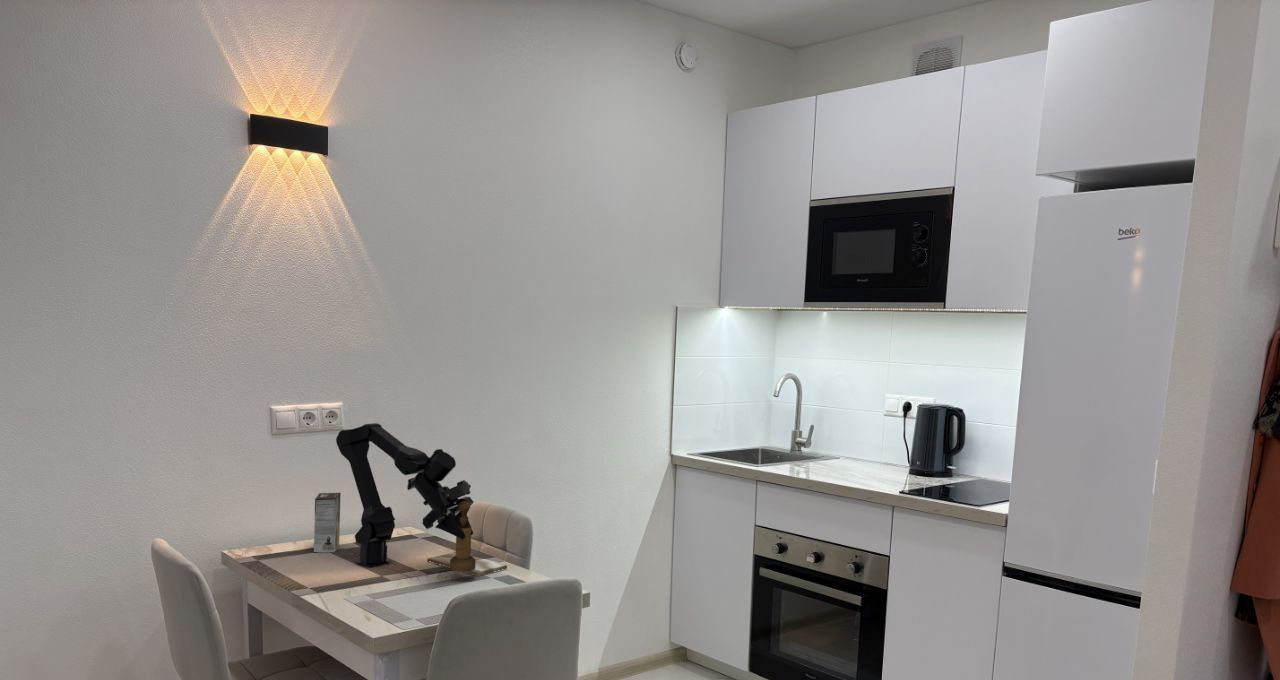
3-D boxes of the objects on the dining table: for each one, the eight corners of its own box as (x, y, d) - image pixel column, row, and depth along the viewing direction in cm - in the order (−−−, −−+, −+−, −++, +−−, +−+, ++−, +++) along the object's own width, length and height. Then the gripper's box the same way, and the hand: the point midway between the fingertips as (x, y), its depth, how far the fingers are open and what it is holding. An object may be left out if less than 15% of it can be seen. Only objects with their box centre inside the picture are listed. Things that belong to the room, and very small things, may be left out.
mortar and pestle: (453, 572, 222) (455, 503, 222) (446, 566, 228) (449, 499, 228) (478, 570, 225) (480, 502, 225) (471, 564, 231) (473, 497, 231)
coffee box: (317, 545, 258) (318, 492, 258) (339, 545, 260) (341, 492, 260) (313, 553, 249) (314, 498, 250) (336, 552, 251) (337, 497, 251)
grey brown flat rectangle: (477, 576, 229) (477, 572, 229) (427, 561, 243) (427, 557, 243) (507, 569, 237) (507, 564, 237) (456, 555, 251) (456, 551, 251)
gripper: (434, 476, 218) (472, 523, 215) (468, 467, 236) (503, 510, 233) (406, 505, 220) (443, 552, 217) (441, 493, 238) (476, 536, 235)
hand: (468, 536), depth 226 cm, fingers closed on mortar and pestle, 4 cm apart
